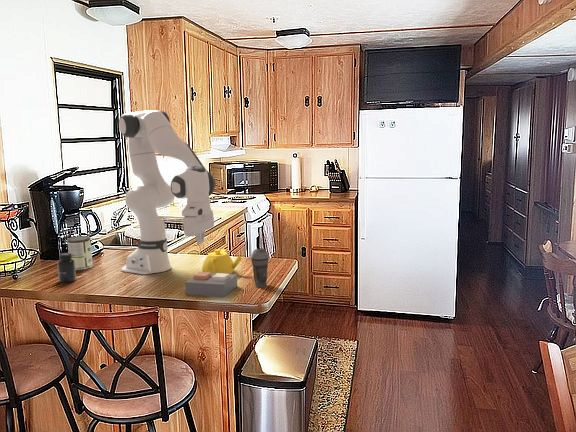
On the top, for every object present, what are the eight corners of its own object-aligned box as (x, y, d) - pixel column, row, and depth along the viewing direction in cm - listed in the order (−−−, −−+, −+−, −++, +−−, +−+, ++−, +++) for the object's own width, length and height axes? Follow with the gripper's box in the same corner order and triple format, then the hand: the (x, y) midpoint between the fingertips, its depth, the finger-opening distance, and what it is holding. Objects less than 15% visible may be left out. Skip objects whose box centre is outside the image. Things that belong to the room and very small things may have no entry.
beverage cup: (251, 283, 217) (250, 236, 213) (269, 282, 217) (267, 235, 214) (251, 288, 209) (250, 239, 206) (270, 287, 210) (268, 239, 207)
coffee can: (70, 265, 252) (68, 236, 249) (93, 263, 254) (91, 235, 252) (68, 271, 242) (65, 241, 239) (92, 268, 244) (89, 239, 242)
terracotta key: (194, 281, 207) (193, 275, 207) (199, 277, 212) (199, 271, 211) (205, 282, 206) (205, 276, 205) (210, 278, 211) (210, 272, 210)
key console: (185, 294, 204) (185, 282, 203) (201, 283, 217) (200, 272, 216) (224, 297, 200) (223, 284, 199) (237, 286, 213) (236, 274, 212)
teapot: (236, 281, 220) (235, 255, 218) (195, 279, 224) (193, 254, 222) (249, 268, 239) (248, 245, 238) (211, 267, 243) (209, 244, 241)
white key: (212, 282, 205) (212, 276, 205) (217, 279, 210) (217, 273, 209) (224, 283, 204) (224, 277, 203) (229, 279, 208) (229, 273, 208)
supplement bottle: (59, 284, 221) (57, 256, 219) (58, 280, 227) (55, 253, 225) (77, 281, 224) (74, 254, 222) (75, 277, 230) (72, 251, 228)
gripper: (202, 204, 215) (204, 237, 217) (179, 212, 195) (181, 248, 198) (217, 204, 213) (218, 237, 215) (194, 212, 194) (196, 249, 196)
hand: (200, 243), depth 206 cm, fingers closed
